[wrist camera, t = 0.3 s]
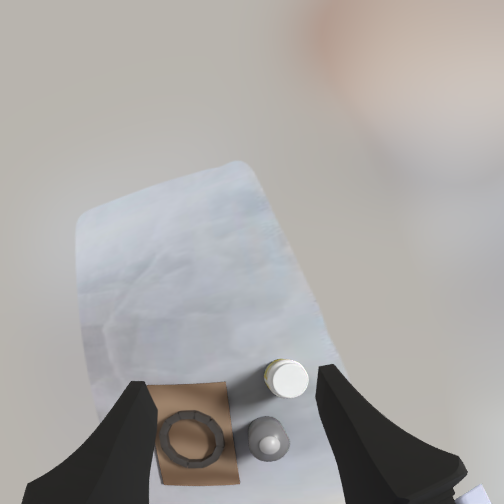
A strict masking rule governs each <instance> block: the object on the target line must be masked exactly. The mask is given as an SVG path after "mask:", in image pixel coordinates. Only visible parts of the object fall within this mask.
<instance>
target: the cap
mask: <svg viewBox="0 0 504 504" xmlns="http://www.w3.org/2000/svg"><path fill="white" fill-rule="evenodd" d="M248 439H249V449H250V452H251V453H252V455H253V456H254V457H256V458H257V459H259V460H261V461H266V462H271V461H276V460H278V459H280V458H282V457H283V456H284V455H285V454H286V453H287V451H288V449H289V446H290V441H289V437H288V436H287V434H286V432H285V430H284V428H283V427H282V425H281V423H280V422H279V421H278V420H277V419H275V418H273V417H269V416H263V417H259V418H257V419H255V420H254V421H253V422H252V423H251V424H250V426H249V429H248Z"/></svg>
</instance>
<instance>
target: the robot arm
mask: <svg viewBox="0 0 504 504" xmlns="http://www.w3.org/2000/svg"><path fill="white" fill-rule="evenodd" d="M315 398H316V402H317V406H318V411H319V415H320V418H321V421H322V424H323V427H324V429H325V432H326V435H327V437H328V440H329V443H330V445H331V448H332V451H333V453H334V456H335V459H336V462H337V465H338V470H339V474H340V478H341V482H342V487H343V492H344V497H345V502H346V504H491V502H490V500H489V498H488V496H487V494H486V492H485V490H484V488H483V486H482V484H479V485H478V486H476V487H475V488H473V489H471V490H470V491H468V492H467V493H465V494H464V495H462V496H460V497H459V498H457V499H456V500H454V499H453V495H454V494H455V492H454V490H453V487H454V486H455V485H456V484H458V483H459V482H460V481H461V480H462V479H463V478H464V477H465V476H466V475H467V473H468V471H467V470H466V468H465V466H464V464H463V462H462V461H461V459H460V458H459V456H456V455H453V454H451V453H448V452H445V451H443V450H440V449H438V448H435V447H433V446H431V445H429V444H427V443H425V442H423V441H421V440H419V439H418V438H416V437H414V436H412V435H411V434H409V433H407V432H406V431H404V430H403V429H401V428H400V427H398V426H397V425H395V424H394V423H393V422H391V421H390V420H389V419H387V418H386V417H385V416H383V415H382V414H381V413H380V412H379V411H378V410H377V409H375V408H374V407H373V406H372V405H371V404H370V403H369V402H368V401H367V400H366V399H365V398H364V397H363V396H362V395H361V394H360V393H359V392H358V391H357V390H356V389H355V388H354V387H353V386H352V385H351V384H350V382H349V381H348V380H347V379H346V378H345V377H344V376H343V374H342V373H341V372H340V371H339V370H338V368H337V367H336V366H335V365H334V364H330V365H325V366H319V369H318V378H317V387H316V395H315ZM157 422H158V409H157V407H156V405H155V403H154V401H153V399H152V397H151V395H150V393H149V390H148V388H147V386H146V384H145V382H144V381H131V382H130V383H129V385H128V386H127V387H126V389H125V390H124V392H123V393H122V395H121V396H120V398H119V399H118V400H117V402H116V403H115V405H114V406H113V408H112V409H111V410H110V412H109V413H108V414H107V416H106V417H105V418H104V420H103V421H102V422H101V423H100V425H99V426H98V427H97V429H96V430H95V431H94V432H93V433H92V434H91V436H90V437H89V438H88V439H87V440H86V441H85V442H84V443H83V444H82V445H81V446H80V447H79V448H78V449H77V450H76V451H75V452H74V453H73V454H72V455H70V456H69V457H68V458H67V459H66V460H64V461H63V462H62V463H61V464H59V465H58V466H56V467H55V468H54V469H52V470H51V471H49V472H48V473H46V474H45V475H43V476H41V477H39V478H37V479H36V480H34V481H32V482H30V483H28V484H27V487H26V490H25V493H24V497H23V501H22V504H149V476H150V468H151V462H152V457H153V451H154V445H155V439H156V433H157Z"/></svg>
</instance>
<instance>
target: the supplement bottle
mask: <svg viewBox="0 0 504 504" xmlns="http://www.w3.org/2000/svg"><path fill="white" fill-rule="evenodd" d="M264 380H265V383H266V385H267V386H268V388H269V389H270V390H271V391H272V393H273V394H275V395H276V396H278V397H281V398H294V397H297V396H299V395H301V394H302V393H303V392H304V391H305V390H306V388H307V386H308V374H307V372H306V371H305V369H304V367H303V366H302V365H301V364H300V363H298V362H296V361H294V360H289V359H277V360H274V361H272V362H271V363H270V364H269V365H268V366H267V367H266V369H265V372H264Z"/></svg>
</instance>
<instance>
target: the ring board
mask: <svg viewBox="0 0 504 504" xmlns="http://www.w3.org/2000/svg"><path fill="white" fill-rule="evenodd" d="M147 388H148V390H149V393H150V395H151V397H152V399H153V401H154V403H155V405H156V407H157V409H158V422H157V433H156V439H155V444H156V449H157V455H158V460H159V465H160V469H161V474H162V478H163V483H164V485H179V486H214V485H234V484H240V480H239V473H238V467H237V461H236V454H235V447H234V440H233V433H232V426H231V419H230V411H229V404H228V396H227V388H226V382H215V383H200V384H178V385H147Z"/></svg>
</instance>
